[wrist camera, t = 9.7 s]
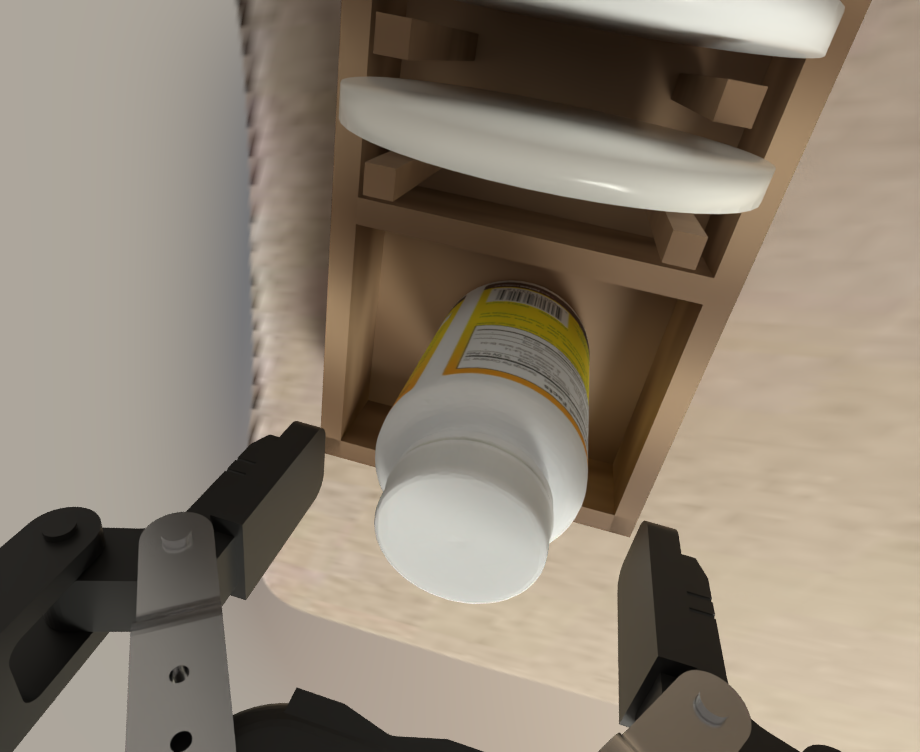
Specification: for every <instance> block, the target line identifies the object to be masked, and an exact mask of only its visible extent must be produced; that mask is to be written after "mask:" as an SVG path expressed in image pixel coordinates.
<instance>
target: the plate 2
mask: <svg viewBox="0 0 920 752" xmlns="http://www.w3.org/2000/svg"><path fill="white" fill-rule="evenodd" d="M339 120H340V123H341V124H342V125H343V126H344V127H345V128H346V129H347V130H349V131H351V132H352V133H354V134H355V135H357V136H359V137H361V138H363V139H365V140H367V141H369V142H371V143H373V144H376V145H378V146H381V147H383V148H386V149H388V150H391V151H393V152H396V153H399V154H402V155H405V156H408V157H410V158H413V159H416V160H419V161H422V162H425V163H429V164H432V165H435V166H439V167H442V168H446V169H449V170H452V171H456V172H460V173H463V174H467V175H471V176H475V177H479V178H482V179H486V180H490V181H495V182H499V183H503V184H507V185H512V186H516V187H520V188H525V189H530V190H534V191H539V192H544V193H549V194H554V195H559V196H564V197H570V198H575V199H581V200H587V201H593V202H598V203H605V204H612V205H618V206H625V207H632V208H640V209H649V210H658V211H667V212H680V213H694V214H730V213H741V212H747V211H751V210H753V209H756V208H758V207H759V205H760V204H761V202H762V200H763V197H764V195H765V193H766V190H767V188H768V186H769V184H770V181H771V179H772V177H773V174H774V172H775V170H776V168H775V166H774V165H773V164H772V163H770V162H769V161H767V160H765V159H763V158H761V157H759V156H757V155H754V154H752V153H749V152H747V151H744V150H741V149H739V148H736V147H733V146H730V145H727V144H724V143H721V142H717V141H714V140H711V139H707V138H704V137H701V136H697V135H694V134H690V133H686V132H683V131H679V130H675V129H671V128H668V127H664V126H660V125H656V124H652V123H648V122H644V121H640V120H635V119H631V118H627V117H623V116H618V115H614V114H609V113H605V112H600V111H596V110H591V109H587V108H582V107H577V106H572V105H567V104H562V103H557V102H552V101H547V100H542V99H537V98H531V97H526V96H520V95H515V94H509V93H503V92H497V91H491V90H485V89H479V88H472V87H466V86H459V85H452V84H445V83H437V82H430V81H421V80H412V79H401V78H389V77H367V76H366V77H349V78H345V79H342V81H341V82H340V101H339Z"/></svg>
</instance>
